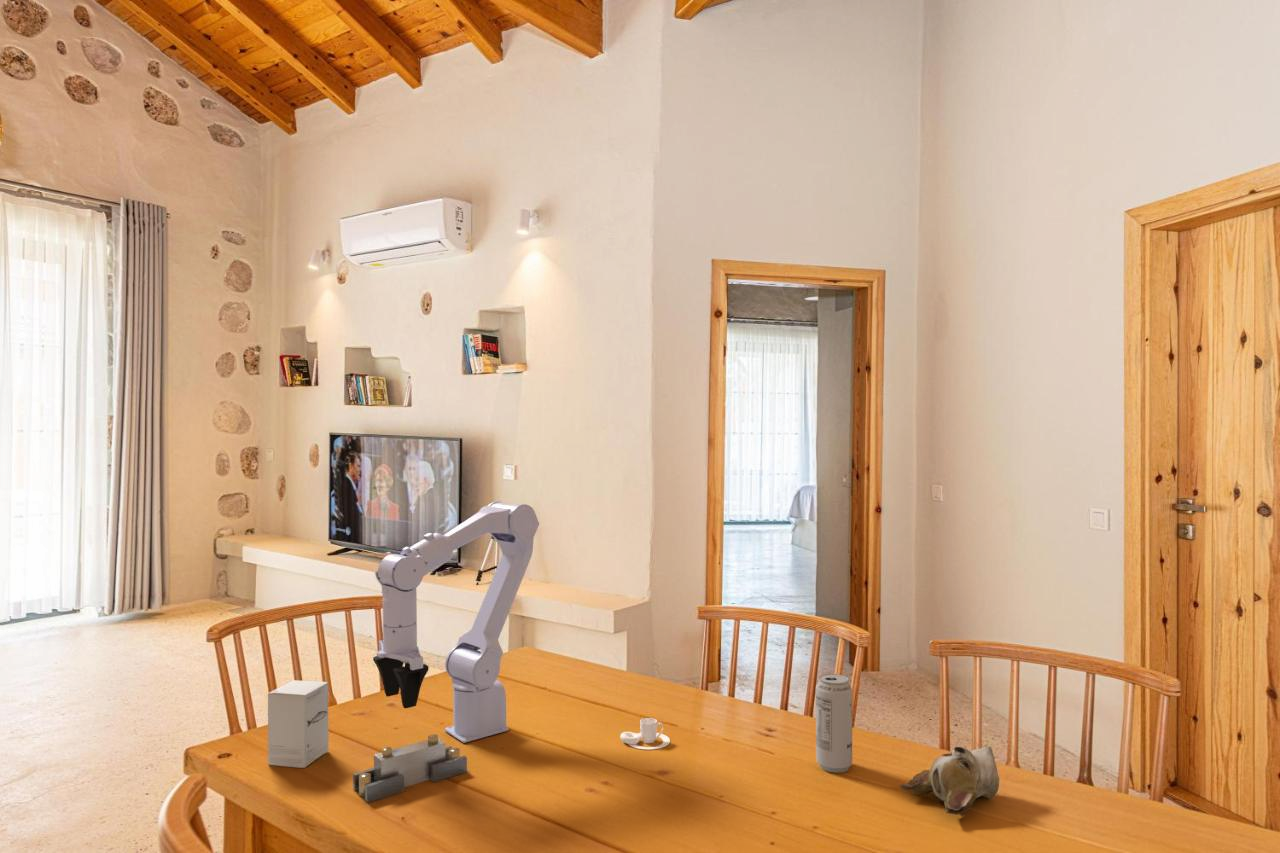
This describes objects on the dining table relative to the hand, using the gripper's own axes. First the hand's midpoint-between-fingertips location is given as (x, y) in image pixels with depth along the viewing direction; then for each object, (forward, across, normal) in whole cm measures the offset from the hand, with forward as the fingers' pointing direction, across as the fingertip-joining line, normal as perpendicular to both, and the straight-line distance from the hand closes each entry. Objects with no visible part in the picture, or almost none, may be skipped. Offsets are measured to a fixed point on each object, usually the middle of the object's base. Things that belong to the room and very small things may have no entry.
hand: (400, 700), depth 144 cm
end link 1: (+10, +10, -8) cm, 16 cm away
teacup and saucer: (+11, +19, +38) cm, 44 cm away
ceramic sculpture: (+10, +71, +59) cm, 93 cm away
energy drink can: (+10, +51, +55) cm, 76 cm away
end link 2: (+10, +10, +3) cm, 14 cm away
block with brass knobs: (+10, +10, -3) cm, 14 cm away
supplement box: (+10, -11, -14) cm, 20 cm away
